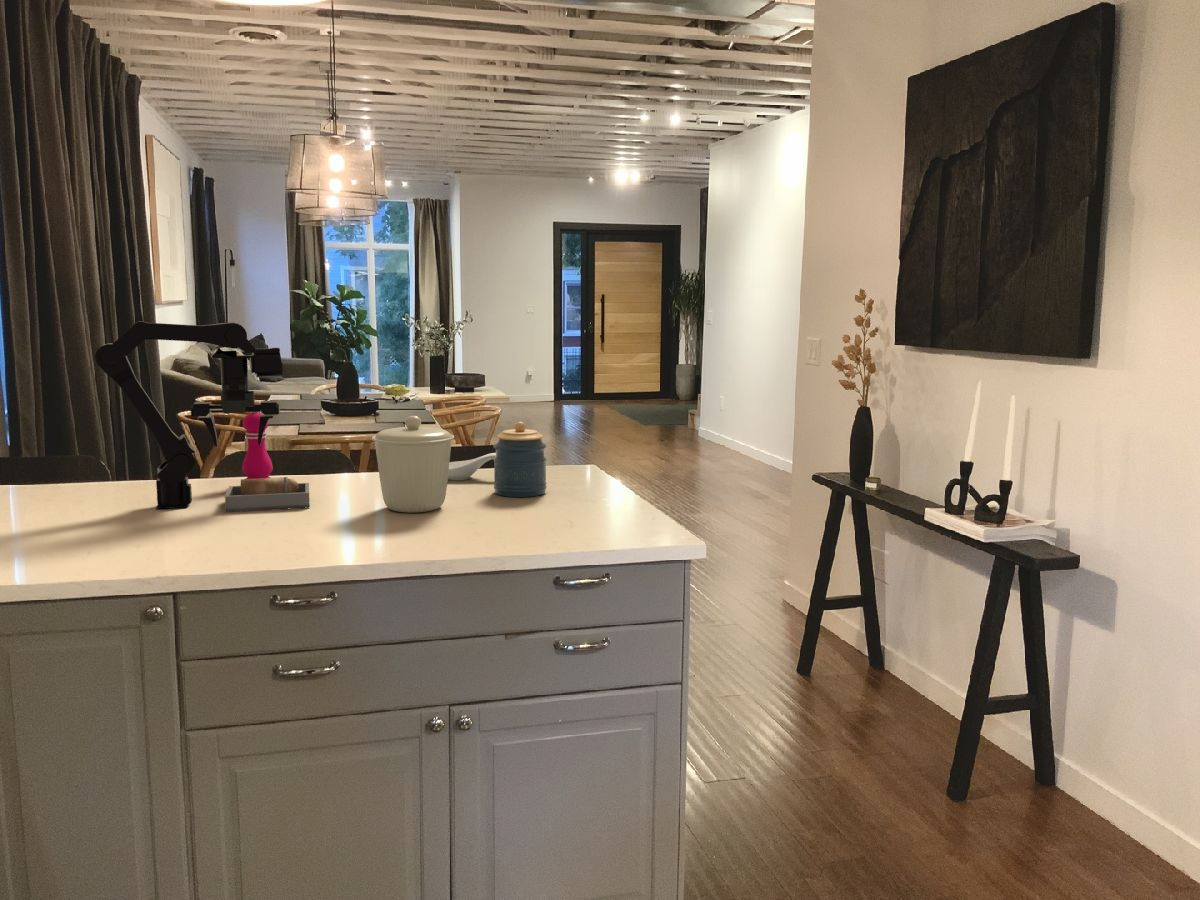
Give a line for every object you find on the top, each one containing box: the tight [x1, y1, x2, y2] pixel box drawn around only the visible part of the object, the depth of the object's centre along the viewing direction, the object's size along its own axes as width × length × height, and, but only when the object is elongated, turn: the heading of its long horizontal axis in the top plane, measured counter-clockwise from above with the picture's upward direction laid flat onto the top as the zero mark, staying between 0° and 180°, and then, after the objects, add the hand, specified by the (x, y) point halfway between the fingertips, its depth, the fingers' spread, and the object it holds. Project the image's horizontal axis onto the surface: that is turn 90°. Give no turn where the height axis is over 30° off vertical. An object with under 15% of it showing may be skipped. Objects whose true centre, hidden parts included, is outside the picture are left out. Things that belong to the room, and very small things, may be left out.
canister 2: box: [493, 421, 548, 498], centre depth 230 cm, size 13×13×18 cm
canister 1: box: [371, 415, 455, 514], centre depth 211 cm, size 18×18×21 cm
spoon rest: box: [448, 452, 496, 481], centre depth 250 cm, size 24×12×7 cm, turn 86°
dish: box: [224, 482, 310, 513], centre depth 215 cm, size 18×13×4 cm
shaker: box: [240, 476, 299, 495], centre depth 217 cm, size 5×5×12 cm
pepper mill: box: [241, 412, 274, 479], centre depth 236 cm, size 7×7×20 cm
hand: (238, 445), depth 216 cm, fingers open, 9 cm apart
